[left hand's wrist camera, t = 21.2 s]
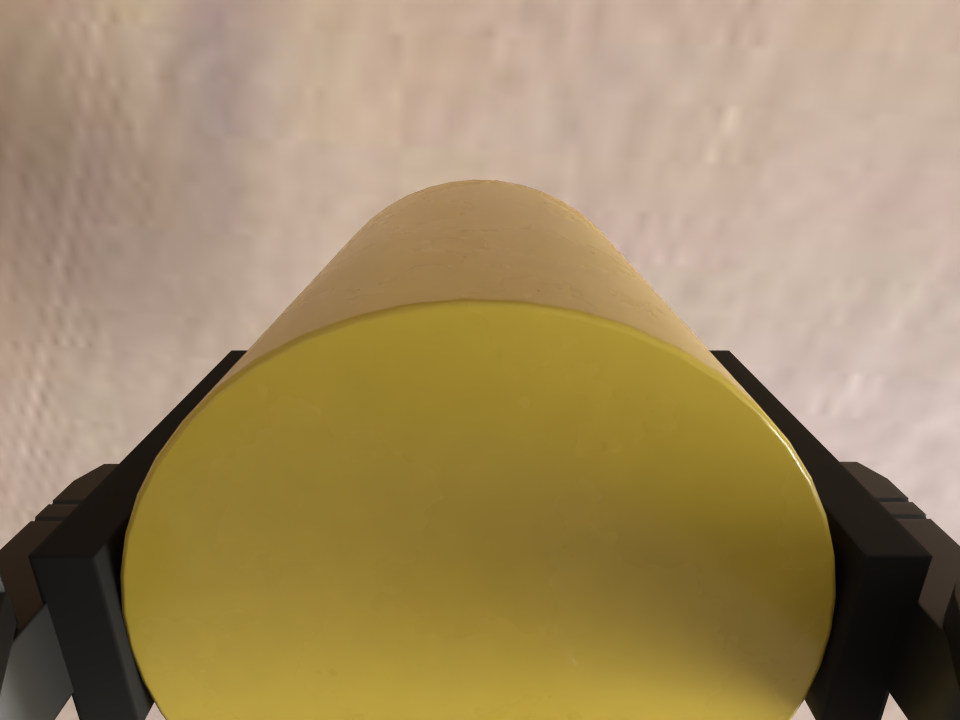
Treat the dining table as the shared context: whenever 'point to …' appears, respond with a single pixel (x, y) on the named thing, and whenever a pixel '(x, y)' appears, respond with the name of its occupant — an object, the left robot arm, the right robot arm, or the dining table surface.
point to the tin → (478, 497)
